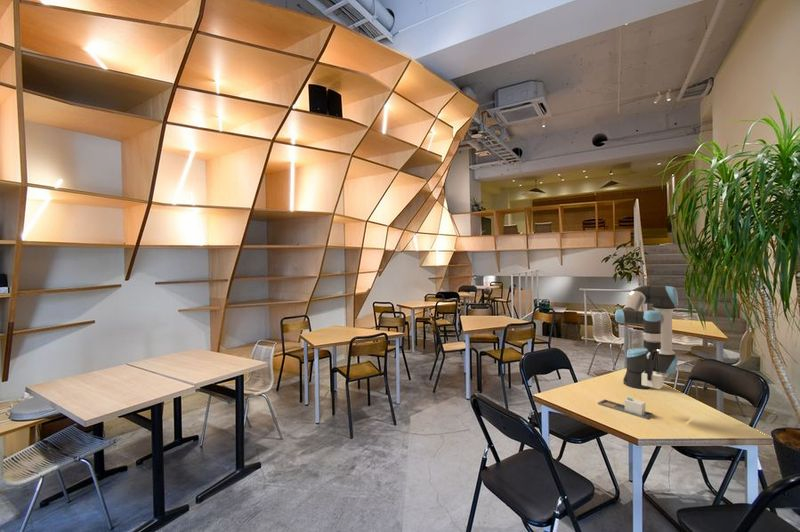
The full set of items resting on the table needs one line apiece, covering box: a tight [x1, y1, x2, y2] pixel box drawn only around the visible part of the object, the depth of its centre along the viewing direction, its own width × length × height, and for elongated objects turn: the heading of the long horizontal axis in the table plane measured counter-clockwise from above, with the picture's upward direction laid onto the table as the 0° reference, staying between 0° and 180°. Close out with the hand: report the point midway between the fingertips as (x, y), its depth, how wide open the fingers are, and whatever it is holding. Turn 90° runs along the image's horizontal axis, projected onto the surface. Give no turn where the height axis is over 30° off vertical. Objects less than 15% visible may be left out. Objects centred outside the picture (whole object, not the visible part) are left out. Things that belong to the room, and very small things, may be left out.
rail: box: [597, 398, 654, 420], centre depth 198 cm, size 8×25×2 cm, turn 37°
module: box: [641, 371, 664, 390], centre depth 191 cm, size 5×8×7 cm, turn 40°
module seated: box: [624, 396, 646, 416], centre depth 194 cm, size 5×8×7 cm, turn 37°
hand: (651, 384), depth 191 cm, fingers closed on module, 5 cm apart
